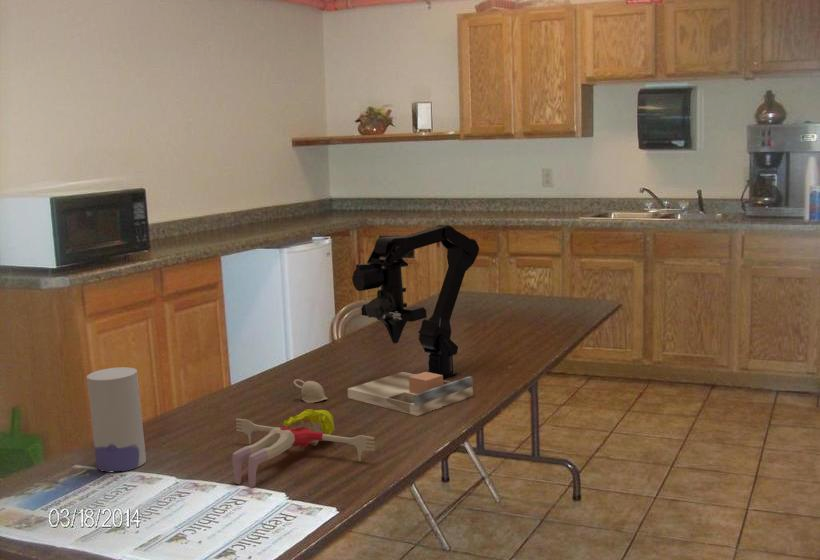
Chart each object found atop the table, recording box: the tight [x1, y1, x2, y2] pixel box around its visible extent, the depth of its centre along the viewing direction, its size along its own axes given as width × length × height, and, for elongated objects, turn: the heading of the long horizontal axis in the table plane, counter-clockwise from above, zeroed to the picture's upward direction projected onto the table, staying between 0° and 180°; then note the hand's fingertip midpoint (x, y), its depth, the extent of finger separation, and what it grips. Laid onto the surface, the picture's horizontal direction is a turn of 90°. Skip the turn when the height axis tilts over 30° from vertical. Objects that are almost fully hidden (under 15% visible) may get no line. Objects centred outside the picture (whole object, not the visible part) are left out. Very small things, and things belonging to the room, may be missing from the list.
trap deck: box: [347, 371, 474, 417], centre depth 226 cm, size 20×25×5 cm
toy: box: [231, 408, 376, 488], centre depth 188 cm, size 28×28×9 cm
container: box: [86, 366, 147, 472], centre depth 186 cm, size 10×10×20 cm
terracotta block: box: [409, 371, 444, 394], centre depth 221 cm, size 6×6×4 cm
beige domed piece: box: [293, 379, 329, 404], centre depth 228 cm, size 4×8×5 cm, turn 62°
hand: (395, 343), depth 235 cm, fingers closed
